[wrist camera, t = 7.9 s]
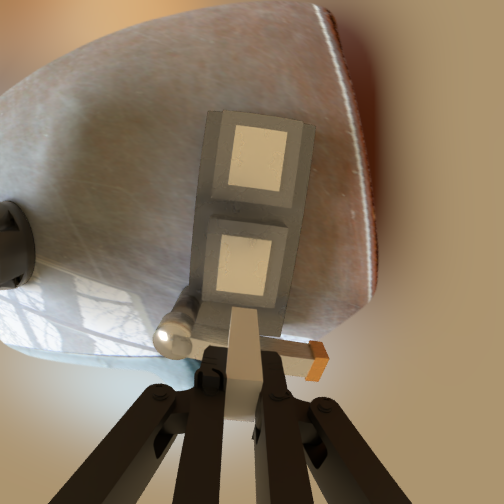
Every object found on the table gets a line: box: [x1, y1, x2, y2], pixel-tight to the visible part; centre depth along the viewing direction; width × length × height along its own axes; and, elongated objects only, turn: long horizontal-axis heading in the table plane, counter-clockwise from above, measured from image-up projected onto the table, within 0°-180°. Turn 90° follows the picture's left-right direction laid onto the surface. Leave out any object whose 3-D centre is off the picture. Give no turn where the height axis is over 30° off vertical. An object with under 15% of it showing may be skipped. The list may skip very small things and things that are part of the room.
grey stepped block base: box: [171, 110, 316, 337], centre depth 30 cm, size 14×26×8 cm, turn 172°
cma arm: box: [153, 312, 329, 382], centre depth 27 cm, size 18×4×3 cm, turn 76°
